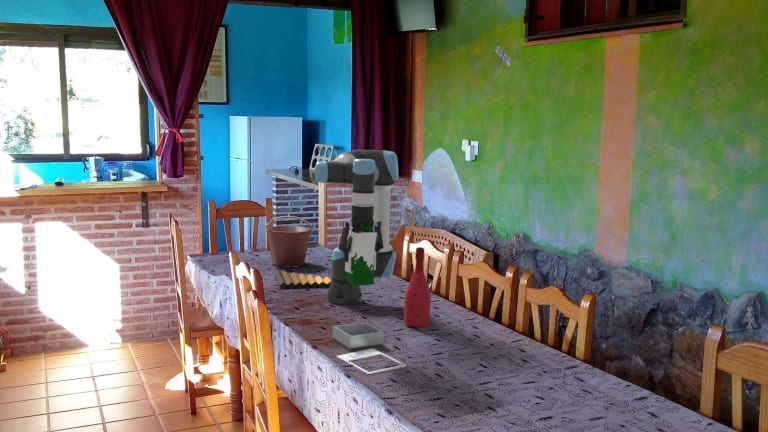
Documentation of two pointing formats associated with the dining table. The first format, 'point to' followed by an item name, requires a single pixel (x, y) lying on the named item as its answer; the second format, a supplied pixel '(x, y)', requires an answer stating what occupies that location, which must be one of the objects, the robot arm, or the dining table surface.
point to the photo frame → (368, 354)
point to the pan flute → (300, 280)
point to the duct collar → (358, 336)
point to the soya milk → (362, 257)
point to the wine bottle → (417, 296)
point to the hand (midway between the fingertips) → (360, 270)
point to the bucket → (288, 243)
